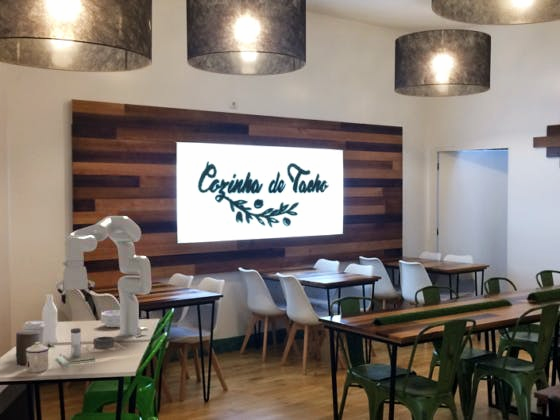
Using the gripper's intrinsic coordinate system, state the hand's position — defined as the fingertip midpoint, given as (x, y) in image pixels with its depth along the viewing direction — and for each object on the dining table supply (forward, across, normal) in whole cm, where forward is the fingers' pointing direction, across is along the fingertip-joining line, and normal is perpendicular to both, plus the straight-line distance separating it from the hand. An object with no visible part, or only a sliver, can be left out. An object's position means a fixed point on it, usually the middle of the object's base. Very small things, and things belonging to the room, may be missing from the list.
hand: (75, 302), depth 288 cm
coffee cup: (+26, -14, +21) cm, 36 cm away
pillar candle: (+26, -19, +7) cm, 33 cm away
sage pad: (+26, 0, 0) cm, 26 cm away
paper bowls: (+27, +37, +67) cm, 81 cm away
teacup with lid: (+26, -18, -9) cm, 33 cm away
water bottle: (+26, -4, +37) cm, 45 cm away
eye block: (+26, +16, +13) cm, 33 cm away
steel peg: (+25, 0, 0) cm, 25 cm away
